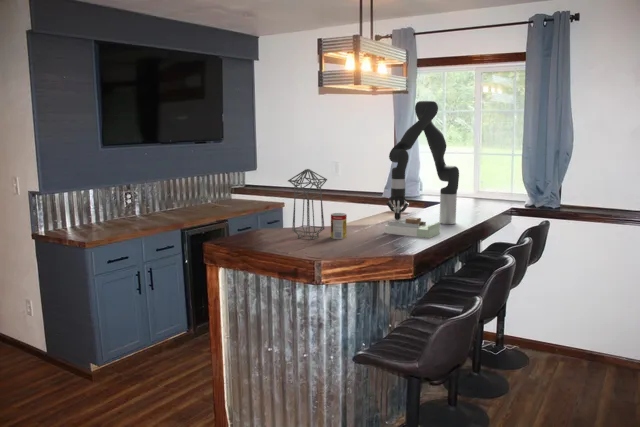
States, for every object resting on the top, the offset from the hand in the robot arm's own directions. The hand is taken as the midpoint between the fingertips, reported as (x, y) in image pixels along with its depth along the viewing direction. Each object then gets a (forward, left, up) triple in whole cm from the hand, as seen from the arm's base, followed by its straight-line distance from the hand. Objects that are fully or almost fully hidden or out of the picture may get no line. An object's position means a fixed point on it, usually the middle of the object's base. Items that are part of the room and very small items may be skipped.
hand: (397, 219), depth 293 cm
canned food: (+30, -19, -7) cm, 36 cm away
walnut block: (0, +9, -2) cm, 9 cm away
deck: (0, +8, -6) cm, 11 cm away
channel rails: (0, +5, -2) cm, 6 cm away
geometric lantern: (+40, -31, -7) cm, 51 cm away
